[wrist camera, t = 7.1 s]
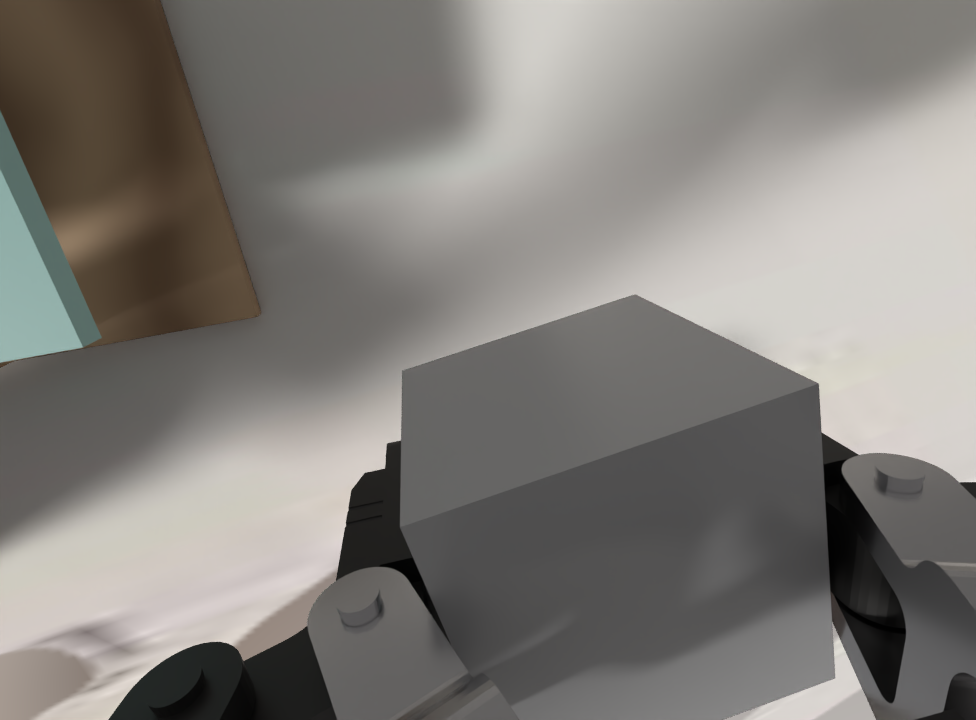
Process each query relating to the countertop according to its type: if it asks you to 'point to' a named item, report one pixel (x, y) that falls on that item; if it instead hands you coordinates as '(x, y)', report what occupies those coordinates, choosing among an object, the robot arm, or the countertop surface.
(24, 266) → the trapdoor
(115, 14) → the frame
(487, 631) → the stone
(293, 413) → the countertop surface
